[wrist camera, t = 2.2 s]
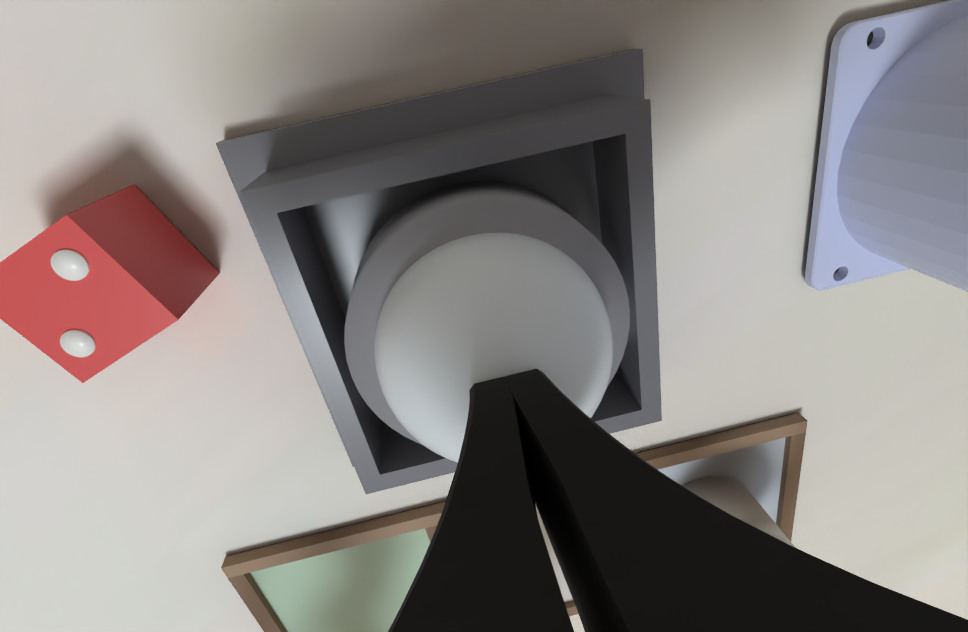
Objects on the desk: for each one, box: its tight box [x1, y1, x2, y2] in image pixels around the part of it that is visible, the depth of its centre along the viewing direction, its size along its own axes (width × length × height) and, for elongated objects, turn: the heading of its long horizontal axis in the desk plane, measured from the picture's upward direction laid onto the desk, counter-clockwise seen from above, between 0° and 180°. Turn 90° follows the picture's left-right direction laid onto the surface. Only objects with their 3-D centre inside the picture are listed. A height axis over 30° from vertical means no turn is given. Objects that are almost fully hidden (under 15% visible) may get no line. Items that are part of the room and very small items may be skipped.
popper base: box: [216, 49, 662, 494], centre depth 14 cm, size 11×11×3 cm
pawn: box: [682, 475, 794, 547], centre depth 19 cm, size 4×4×7 cm
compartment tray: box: [222, 413, 807, 632], centre depth 22 cm, size 23×8×1 cm, turn 101°
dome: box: [344, 181, 630, 463], centre depth 12 cm, size 7×7×6 cm
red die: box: [0, 184, 219, 383], centre depth 13 cm, size 3×3×3 cm
